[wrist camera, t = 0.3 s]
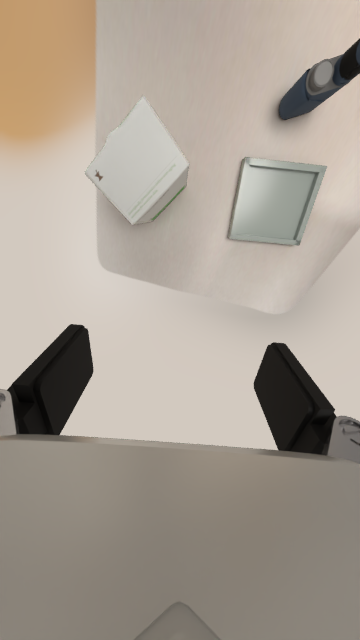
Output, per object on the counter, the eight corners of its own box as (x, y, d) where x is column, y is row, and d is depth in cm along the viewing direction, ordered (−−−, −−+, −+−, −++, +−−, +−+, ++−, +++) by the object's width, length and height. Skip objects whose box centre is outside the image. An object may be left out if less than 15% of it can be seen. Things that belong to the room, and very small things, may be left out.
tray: (242, 159, 31) (245, 157, 29) (319, 168, 31) (327, 166, 29) (227, 237, 36) (229, 238, 34) (294, 243, 36) (299, 245, 35)
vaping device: (316, 111, 28) (396, 52, 18) (277, 123, 29) (331, 74, 18) (317, 85, 27) (404, 5, 16) (276, 98, 27) (335, 30, 17)
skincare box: (151, 222, 35) (131, 231, 21) (122, 188, 33) (78, 173, 19) (188, 184, 32) (193, 166, 19) (160, 143, 30) (141, 89, 16)
